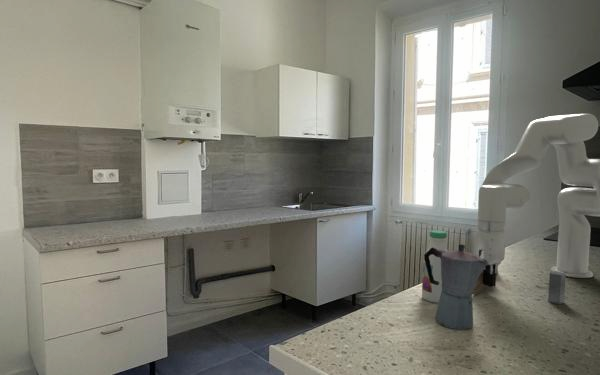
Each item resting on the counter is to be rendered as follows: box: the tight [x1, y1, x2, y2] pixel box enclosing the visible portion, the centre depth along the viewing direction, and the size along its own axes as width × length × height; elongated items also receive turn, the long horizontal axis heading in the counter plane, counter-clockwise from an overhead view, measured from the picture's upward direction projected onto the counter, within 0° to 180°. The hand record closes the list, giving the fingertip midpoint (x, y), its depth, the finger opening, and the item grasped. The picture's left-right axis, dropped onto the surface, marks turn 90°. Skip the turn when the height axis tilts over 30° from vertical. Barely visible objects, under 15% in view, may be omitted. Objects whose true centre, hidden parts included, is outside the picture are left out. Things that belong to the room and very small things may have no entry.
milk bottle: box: [421, 229, 449, 304], centre depth 115 cm, size 8×8×20 cm
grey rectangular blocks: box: [547, 271, 567, 305], centre depth 124 cm, size 3×26×8 cm, turn 35°
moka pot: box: [423, 244, 489, 331], centre depth 98 cm, size 10×15×20 cm, turn 58°
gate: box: [472, 272, 489, 296], centre depth 125 cm, size 3×18×8 cm, turn 137°
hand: (489, 285), depth 121 cm, fingers closed
